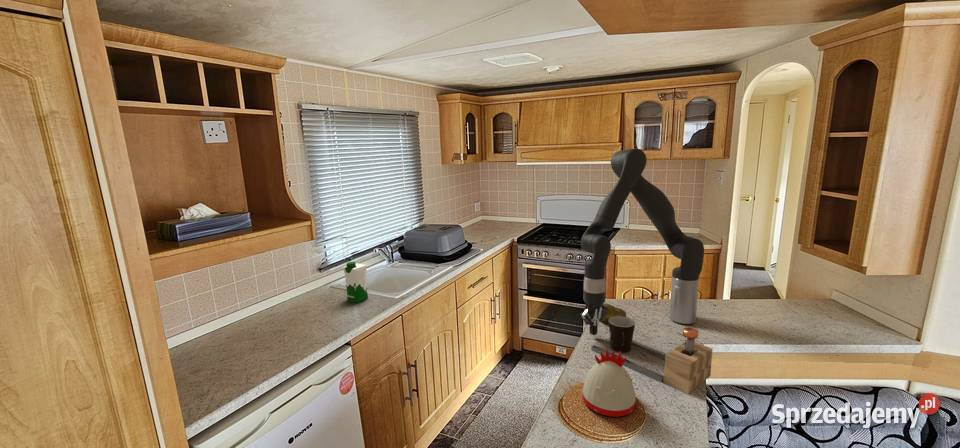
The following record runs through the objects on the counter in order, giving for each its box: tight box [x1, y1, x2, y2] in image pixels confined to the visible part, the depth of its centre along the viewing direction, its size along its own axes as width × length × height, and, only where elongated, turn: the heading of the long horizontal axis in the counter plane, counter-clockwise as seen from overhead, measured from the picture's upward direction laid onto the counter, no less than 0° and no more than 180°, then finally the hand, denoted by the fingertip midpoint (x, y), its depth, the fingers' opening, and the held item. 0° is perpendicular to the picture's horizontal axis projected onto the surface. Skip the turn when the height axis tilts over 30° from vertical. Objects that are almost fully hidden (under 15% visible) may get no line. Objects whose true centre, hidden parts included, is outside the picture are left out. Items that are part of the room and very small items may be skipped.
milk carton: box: [342, 261, 369, 304], centre depth 185 cm, size 9×9×20 cm
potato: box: [601, 302, 627, 324], centre depth 156 cm, size 8×13×8 cm, turn 87°
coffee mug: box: [607, 316, 636, 354], centre depth 134 cm, size 12×9×10 cm
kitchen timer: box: [582, 348, 636, 417], centre depth 107 cm, size 14×14×15 cm
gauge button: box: [682, 327, 699, 356], centre depth 115 cm, size 4×4×10 cm
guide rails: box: [590, 339, 667, 383], centre depth 130 cm, size 14×25×2 cm, turn 37°
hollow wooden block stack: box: [663, 342, 714, 395], centre depth 116 cm, size 14×7×9 cm, turn 127°
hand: (593, 334), depth 143 cm, fingers closed
